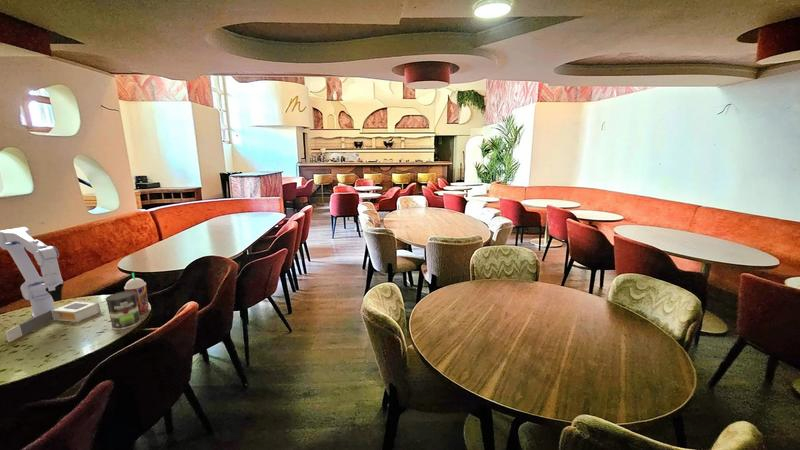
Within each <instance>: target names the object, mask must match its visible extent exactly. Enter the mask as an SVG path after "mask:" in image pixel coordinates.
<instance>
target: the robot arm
mask: <svg viewBox="0 0 800 450" xmlns="http://www.w3.org/2000/svg"><path fill="white" fill-rule="evenodd" d="M0 248H1V249H2V250H5V251H7V252H8V253H9V255H10V257H11V258H12V260H13V261H14V264H16V266H17V268H18V270H19V272H20V273H21V275H22V277H23V279H24V280H25V281H24V282H23V283H22V284H21V285H20V292H21V294H22V297H23V298H24V299H25V300H26V301H29V302H30V305H31V309H32V313H31V316H32V318H34V317H36V316H38V315H40V314H42V313H44V312H46V311H48V310H51V311H52V310H54V309H56V307H55V303H54V302H60V301H62V298H63V288H64V285H65V283H63V282H64V280H63V278H62V274H61V270H60V269H61V268H60V265H59V262H58V258H59V257H60V252H59V251H58V248H57V247H56V246H54V245H47V244H46V243H44V242H43V241H41V240H39V239H34V238H33V237H32V233H31V231H30V228H28V227H26V226H21V227H16V228H10V229H3V230H0ZM27 251H28V252H29V253H31V254H32V255H33V258H34V259H35V261H36V263H37V266H39V268H40V272H41V275H42V276H40V274H39V272H38V270H37V269H36V267H35V265H34V263H33V261H32V260H31V258H30V257H29V255H28V253H27ZM52 315H53V312H52ZM53 316H54V315H53Z"/></svg>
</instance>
